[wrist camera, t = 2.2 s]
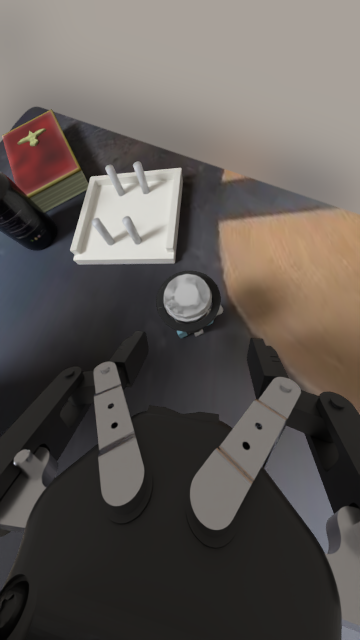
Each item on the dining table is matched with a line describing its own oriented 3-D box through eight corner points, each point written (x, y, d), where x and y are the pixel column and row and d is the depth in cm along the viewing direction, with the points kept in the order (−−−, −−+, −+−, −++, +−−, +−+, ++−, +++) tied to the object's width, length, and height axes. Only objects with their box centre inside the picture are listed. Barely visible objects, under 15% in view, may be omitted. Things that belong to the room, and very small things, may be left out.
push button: (212, 295, 24) (216, 246, 14) (231, 329, 22) (251, 300, 13) (168, 316, 24) (143, 282, 14) (184, 352, 22) (168, 340, 13)
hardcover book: (39, 220, 33) (16, 199, 29) (19, 158, 39) (-2, 134, 35) (94, 190, 33) (79, 166, 29) (66, 133, 39) (50, 107, 35)
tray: (78, 264, 28) (51, 242, 23) (98, 189, 32) (78, 156, 27) (174, 263, 26) (167, 238, 21) (182, 181, 30) (178, 144, 25)
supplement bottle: (19, 234, 32) (-83, 160, 21) (51, 214, 32) (-34, 129, 21) (31, 259, 30) (-76, 192, 19) (64, 237, 30) (-21, 157, 19)
